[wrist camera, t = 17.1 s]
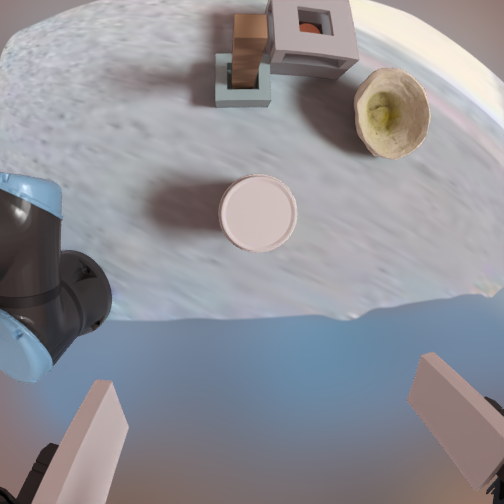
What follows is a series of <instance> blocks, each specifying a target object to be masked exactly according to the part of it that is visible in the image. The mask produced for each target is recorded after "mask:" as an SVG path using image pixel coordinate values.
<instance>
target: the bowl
mask: <svg viewBox="0 0 504 504" xmlns="http://www.w3.org/2000/svg"><path fill="white" fill-rule="evenodd" d="M426 96H427V95H426V91H425V89H424V88H423V87H422V86H421V85H420V84H419V83H418V82H417V80H416V79H415V78H414V77H413V76H412V75H410V74H408V73H407V72H406V71H404V70H402V69H397V68H390V69H389V68H381V69H378V70H376V71H374V72H373V73H372V74H371V75H369V76H368V78H367V79H366V80H365V81H364V82H363V83H362V84H361V85H360V86H359V88H358V91H357V92H356V94H355V97H354V109H355V114H356V115H355V125H356V128H357V133H358V136H359V137H360V139H361V140H362V141H363V142H364V144H365V145H366V147H367V149H368V150H369V151H370V152H371V153H372V154H373V156H380V157H382V158H388V159H394V160H397V159H400V158H401V157H403V156H405V155H408V154H410V153H411V152H413V151H414V150H415V149H416V148H418V147H419V146H420V145H421V144H422V142H423V141H424V139H425V137H426V135H427V132H428V126H429V123H430V120H431V116H430V109H429V103H428V100H427V97H426Z"/></svg>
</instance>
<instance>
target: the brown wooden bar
mask: <svg viewBox="0 0 504 504" xmlns="http://www.w3.org/2000/svg"><path fill="white" fill-rule="evenodd" d="M267 39H268V35H267V17H266V15H260V14H234V30H233V47H232V67H231V90H235V89H253V87H254V83H255V80H256V76H257V73H258V69H259V66H260V62H261V59H262V55H263V52H264V49H265V45H266V42H267Z"/></svg>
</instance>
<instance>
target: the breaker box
mask: <svg viewBox="0 0 504 504" xmlns="http://www.w3.org/2000/svg"><path fill="white" fill-rule="evenodd" d="M265 15H266V17H267V35H268V39H267V42H266V45H265V53H266V54H269V57H270V74H281V75H297V76H309V77H319V78H328V79H336V80H337V79H338V78H339V77H340V76H341V75H343V74H344V73H345V72H346V71H347V70H348V69H349V68H351V67H352V66H353V65H354V64H355V63H356V62H358V61H359V53H358V46H357V40H356V34H355V29H354V23H353V18H352V13H351V8H350V4H349V0H268V3H267V7H266V11H265ZM304 23H308V24H312V25H314V26H315V27H317V28H318V30H319V32H320V34H317V33H309V32H300V29H299V25H301V24H304Z"/></svg>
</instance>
